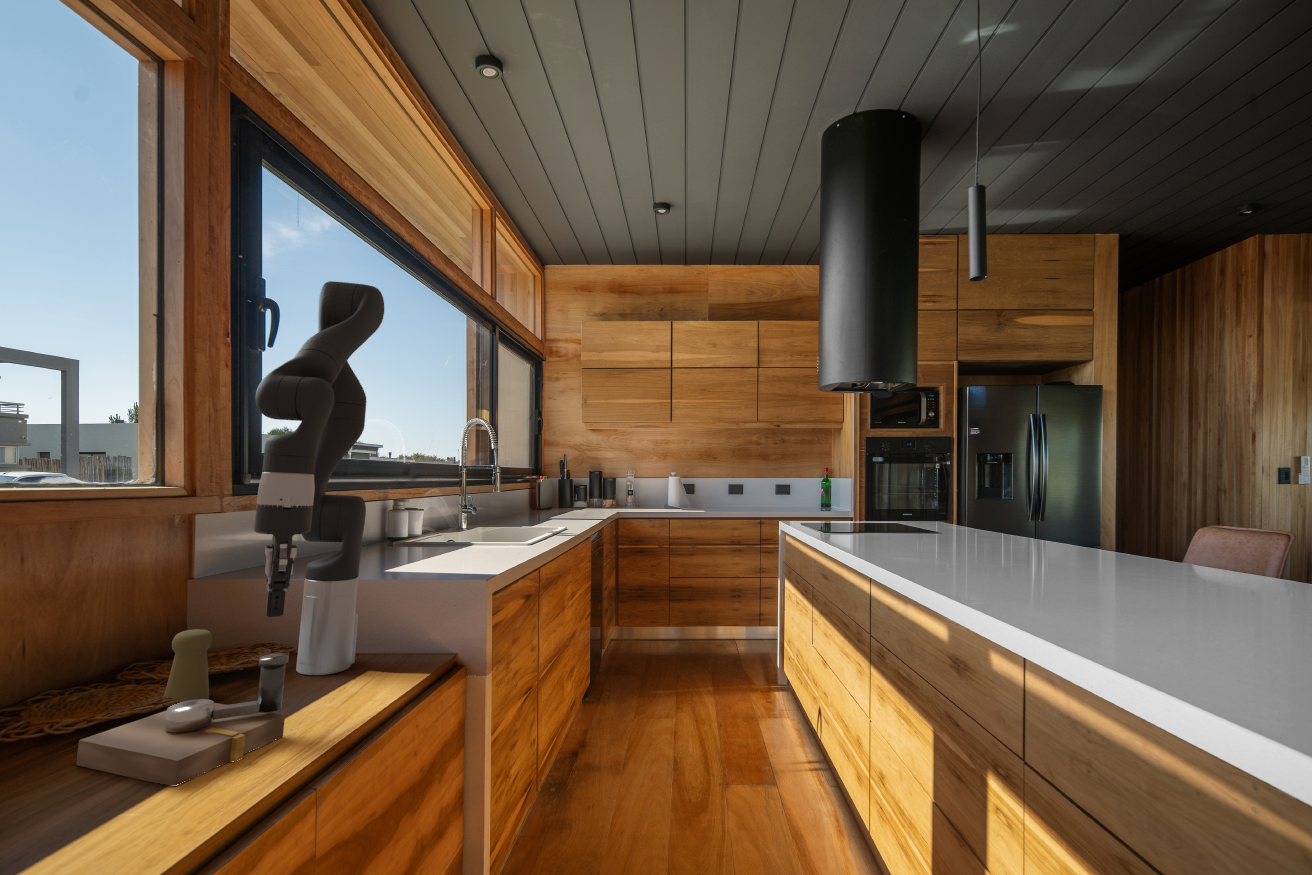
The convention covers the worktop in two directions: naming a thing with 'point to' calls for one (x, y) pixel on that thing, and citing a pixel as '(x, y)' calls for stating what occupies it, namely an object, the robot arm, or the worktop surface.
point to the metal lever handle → (203, 710)
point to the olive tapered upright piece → (189, 666)
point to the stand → (176, 746)
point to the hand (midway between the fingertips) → (274, 615)
